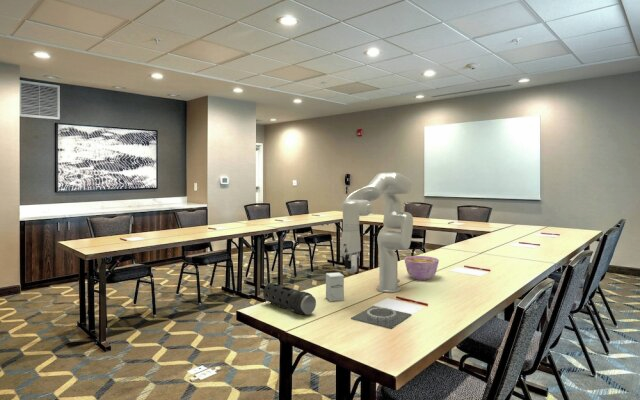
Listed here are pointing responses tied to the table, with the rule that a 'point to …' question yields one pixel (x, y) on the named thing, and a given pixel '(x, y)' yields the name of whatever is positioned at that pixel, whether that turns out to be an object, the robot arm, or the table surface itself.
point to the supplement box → (334, 286)
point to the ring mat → (381, 317)
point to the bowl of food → (421, 266)
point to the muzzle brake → (290, 298)
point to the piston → (353, 263)
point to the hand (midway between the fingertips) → (351, 267)
